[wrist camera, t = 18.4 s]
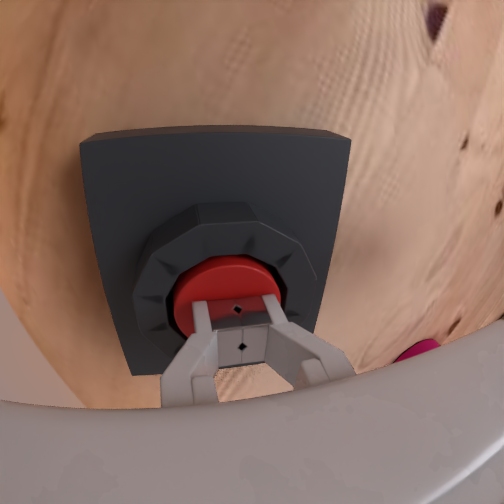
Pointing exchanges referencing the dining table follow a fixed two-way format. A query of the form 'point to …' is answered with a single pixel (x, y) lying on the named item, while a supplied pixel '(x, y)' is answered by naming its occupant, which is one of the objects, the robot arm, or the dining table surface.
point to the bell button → (220, 284)
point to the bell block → (208, 219)
